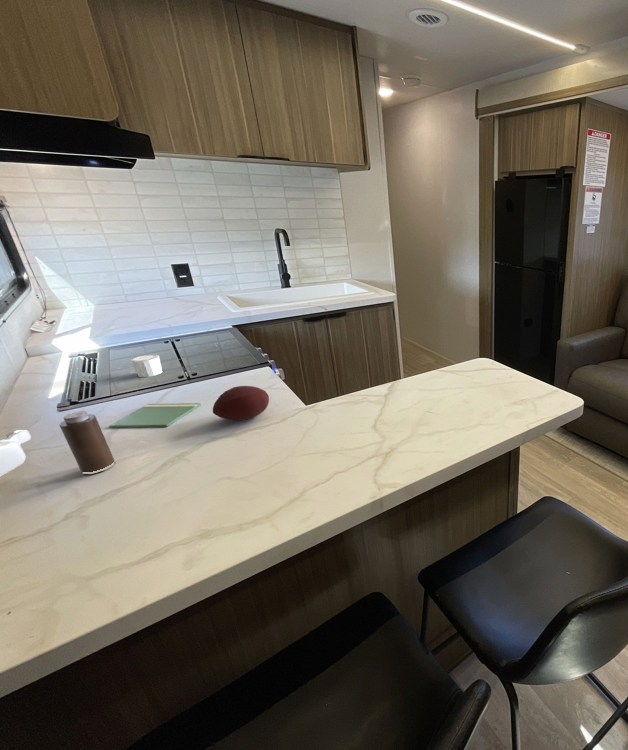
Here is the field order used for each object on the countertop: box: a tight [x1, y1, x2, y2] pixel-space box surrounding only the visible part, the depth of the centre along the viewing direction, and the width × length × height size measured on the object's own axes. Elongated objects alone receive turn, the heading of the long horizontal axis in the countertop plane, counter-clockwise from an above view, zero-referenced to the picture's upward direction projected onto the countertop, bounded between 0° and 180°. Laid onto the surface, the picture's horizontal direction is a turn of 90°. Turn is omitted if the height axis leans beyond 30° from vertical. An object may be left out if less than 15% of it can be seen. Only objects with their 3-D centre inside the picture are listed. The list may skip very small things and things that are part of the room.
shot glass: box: [130, 354, 163, 378], centre depth 126 cm, size 7×7×7 cm
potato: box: [212, 385, 270, 421], centre depth 100 cm, size 12×11×8 cm
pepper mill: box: [58, 410, 116, 473], centre depth 79 cm, size 5×5×12 cm
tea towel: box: [108, 402, 202, 429], centre depth 103 cm, size 14×12×1 cm
